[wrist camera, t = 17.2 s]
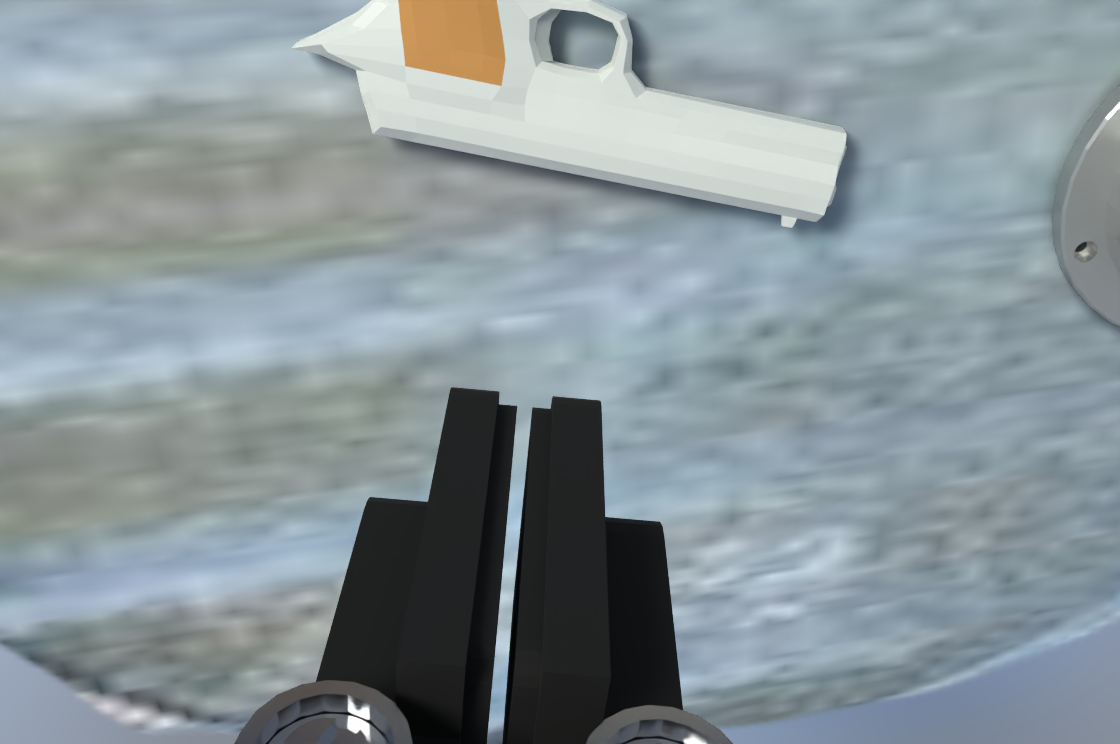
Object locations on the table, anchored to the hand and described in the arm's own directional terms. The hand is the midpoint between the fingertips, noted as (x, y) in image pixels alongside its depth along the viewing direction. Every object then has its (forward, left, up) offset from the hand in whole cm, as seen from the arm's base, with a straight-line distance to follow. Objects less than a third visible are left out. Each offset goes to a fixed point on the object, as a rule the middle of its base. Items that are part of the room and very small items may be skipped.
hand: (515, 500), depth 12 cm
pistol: (-2, 0, -29) cm, 29 cm away
